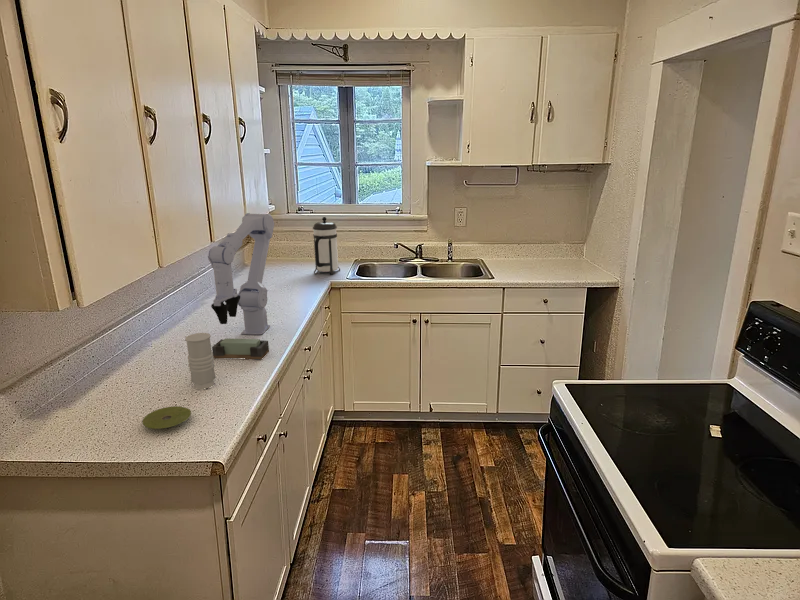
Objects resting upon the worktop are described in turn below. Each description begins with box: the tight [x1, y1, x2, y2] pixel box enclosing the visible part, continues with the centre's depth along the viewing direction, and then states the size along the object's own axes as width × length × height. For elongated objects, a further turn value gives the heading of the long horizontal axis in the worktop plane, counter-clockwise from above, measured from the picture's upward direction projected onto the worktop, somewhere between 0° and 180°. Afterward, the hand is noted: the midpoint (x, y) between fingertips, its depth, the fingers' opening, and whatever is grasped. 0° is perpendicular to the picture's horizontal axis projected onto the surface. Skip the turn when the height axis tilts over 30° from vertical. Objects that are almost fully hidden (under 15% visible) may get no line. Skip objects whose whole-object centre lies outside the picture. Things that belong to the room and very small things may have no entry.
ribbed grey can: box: [184, 332, 217, 390], centre depth 152 cm, size 7×7×15 cm
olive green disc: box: [142, 405, 192, 430], centre depth 133 cm, size 11×11×2 cm
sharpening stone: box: [220, 337, 261, 355], centre depth 175 cm, size 4×12×4 cm, turn 84°
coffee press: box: [312, 216, 341, 276], centre depth 282 cm, size 17×16×30 cm
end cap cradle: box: [211, 339, 270, 360], centre depth 175 cm, size 7×16×4 cm, turn 84°
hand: (228, 320), depth 182 cm, fingers open, 7 cm apart
